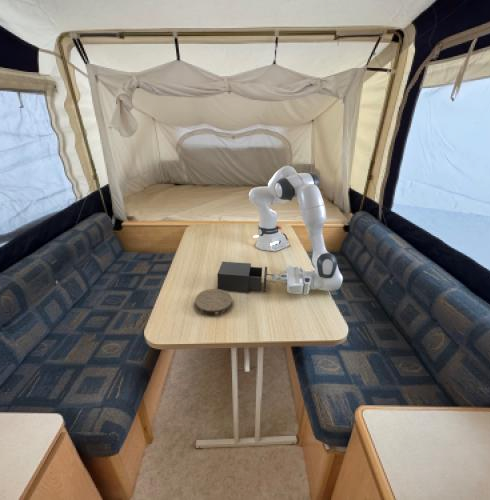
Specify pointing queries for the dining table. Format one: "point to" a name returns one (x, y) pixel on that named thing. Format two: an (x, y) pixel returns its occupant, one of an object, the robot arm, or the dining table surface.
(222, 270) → the cabinet
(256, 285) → the drawer
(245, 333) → the dining table surface
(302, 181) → the robot arm
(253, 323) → the dining table surface
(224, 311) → the round wood slice
